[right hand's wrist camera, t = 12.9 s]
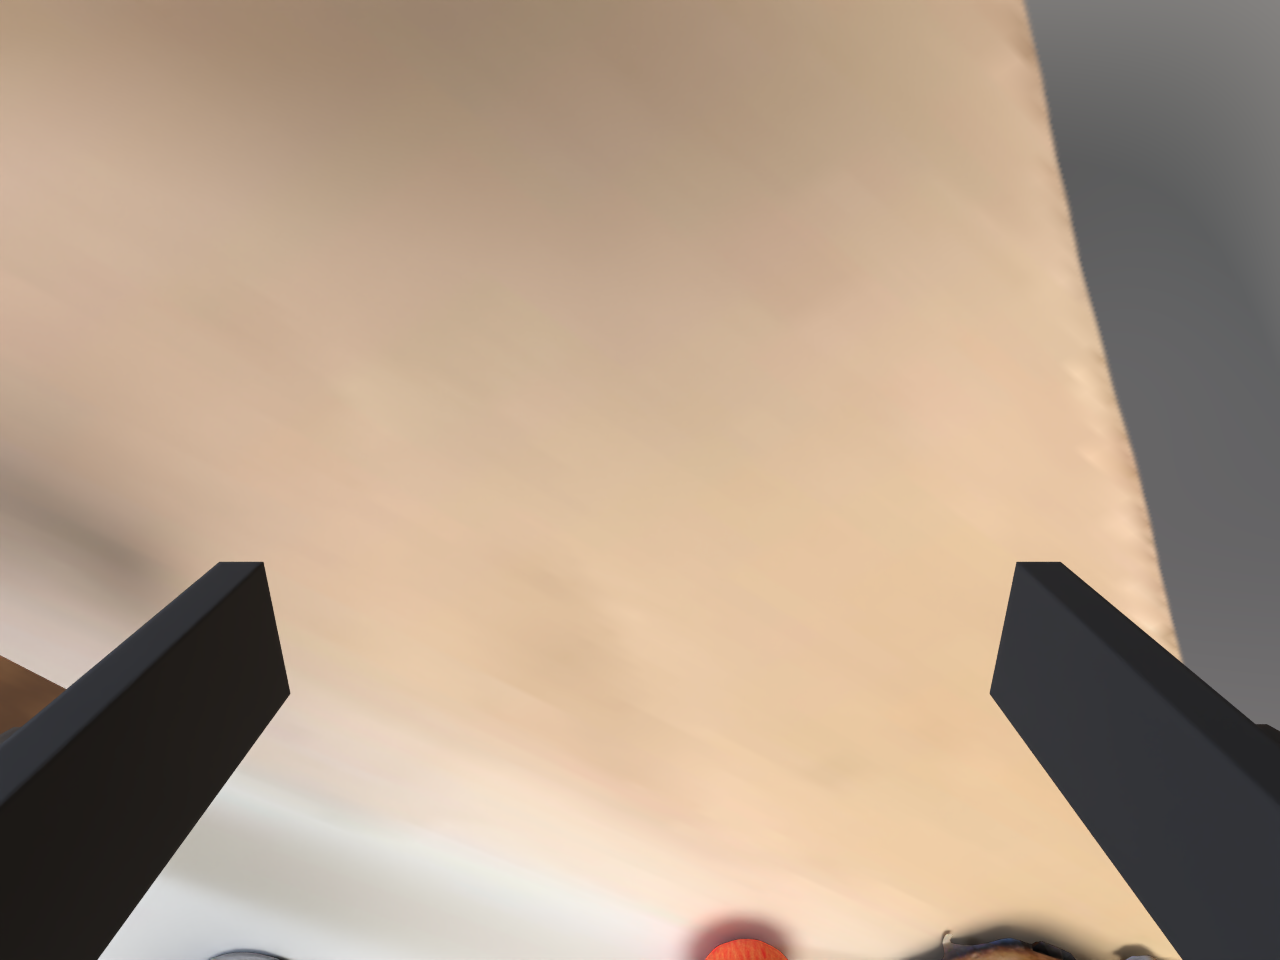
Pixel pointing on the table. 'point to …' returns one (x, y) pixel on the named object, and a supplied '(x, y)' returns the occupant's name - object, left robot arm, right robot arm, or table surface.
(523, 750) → the table surface
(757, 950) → the apple
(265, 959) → the left robot arm
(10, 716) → the bar
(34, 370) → the table surface
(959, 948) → the bread
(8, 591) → the table surface
